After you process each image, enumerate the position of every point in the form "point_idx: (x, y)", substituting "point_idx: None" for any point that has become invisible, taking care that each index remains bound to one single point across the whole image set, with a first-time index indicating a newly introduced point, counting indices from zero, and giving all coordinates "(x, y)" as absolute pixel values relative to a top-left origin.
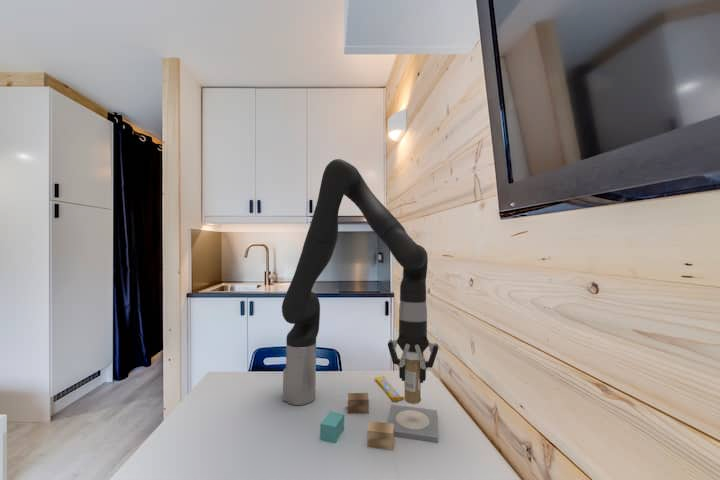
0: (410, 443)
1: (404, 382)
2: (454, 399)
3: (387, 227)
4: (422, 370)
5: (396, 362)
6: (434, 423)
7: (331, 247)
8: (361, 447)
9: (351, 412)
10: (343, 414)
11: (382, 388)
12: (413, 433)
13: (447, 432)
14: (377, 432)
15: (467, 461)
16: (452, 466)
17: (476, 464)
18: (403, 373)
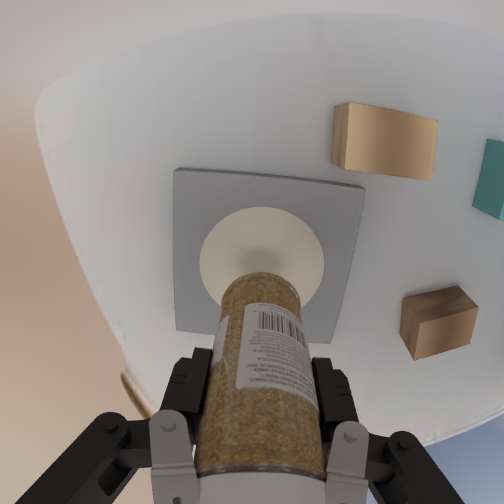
0: (273, 148)
1: (309, 355)
2: (136, 389)
3: None
4: (182, 405)
5: (391, 443)
6: (182, 255)
7: None
8: (426, 117)
9: (449, 289)
10: (500, 216)
11: None
12: (261, 180)
13: (146, 231)
14: (404, 113)
15: (103, 102)
16: (146, 67)
17: (84, 97)
18: (326, 389)
